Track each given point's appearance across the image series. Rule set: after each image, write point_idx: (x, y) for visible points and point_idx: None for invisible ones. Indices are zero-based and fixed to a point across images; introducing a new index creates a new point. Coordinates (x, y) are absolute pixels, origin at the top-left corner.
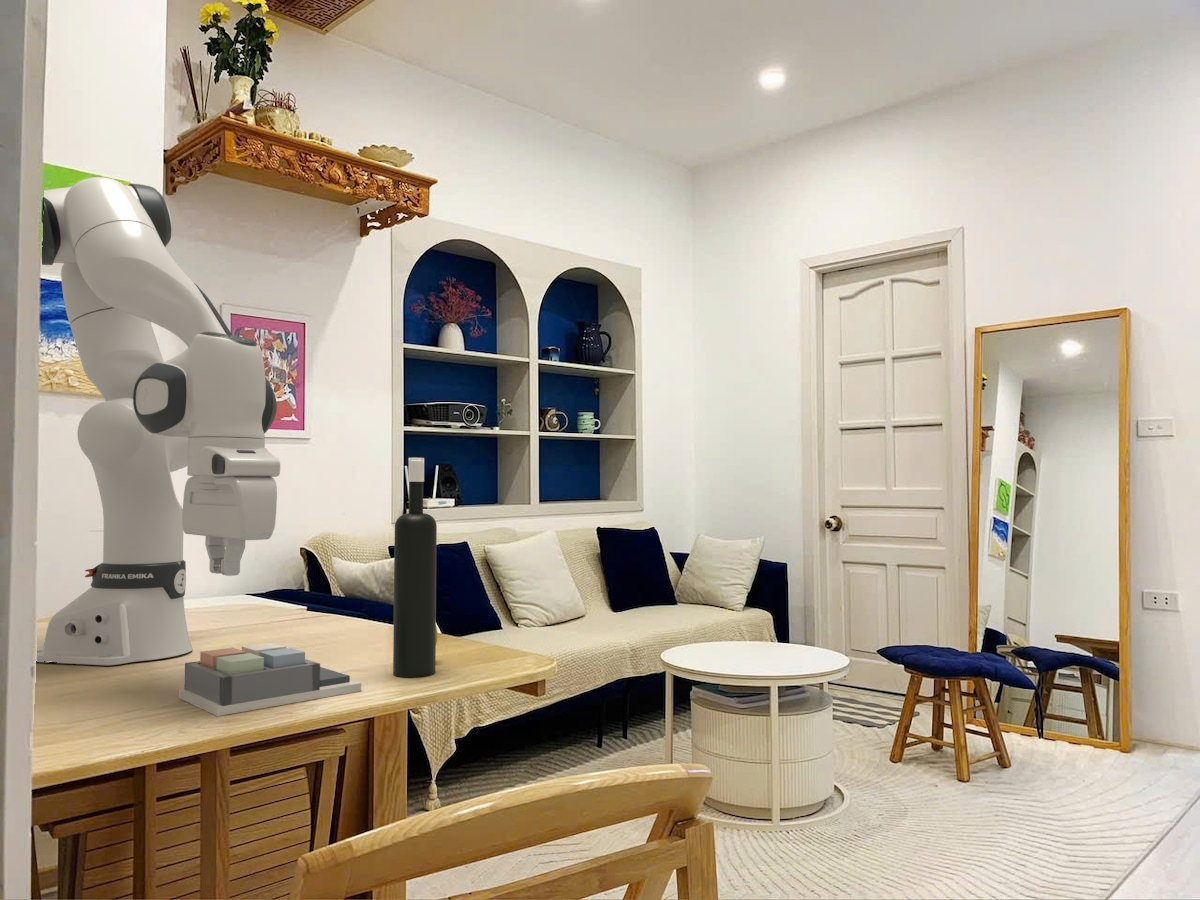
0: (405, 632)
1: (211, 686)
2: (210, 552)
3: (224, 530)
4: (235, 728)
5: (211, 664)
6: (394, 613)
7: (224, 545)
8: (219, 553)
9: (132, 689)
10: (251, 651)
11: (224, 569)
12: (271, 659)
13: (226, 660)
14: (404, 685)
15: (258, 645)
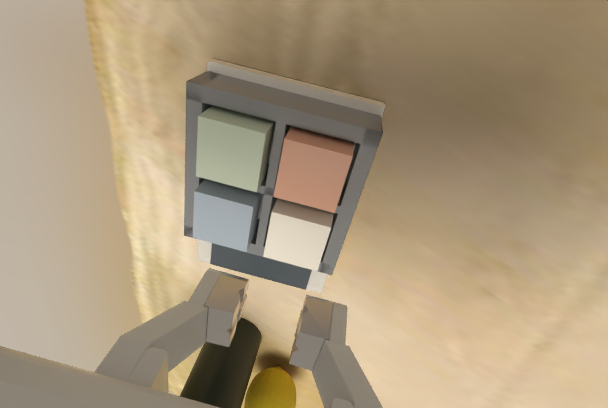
0: (202, 367)
1: (249, 89)
2: (336, 368)
3: (11, 394)
4: (123, 26)
5: (294, 133)
6: (218, 397)
7: (154, 354)
8: (325, 381)
9: (540, 100)
10: (288, 214)
11: (209, 280)
12: (205, 190)
13: (219, 123)
14: (191, 290)
15: (312, 244)
